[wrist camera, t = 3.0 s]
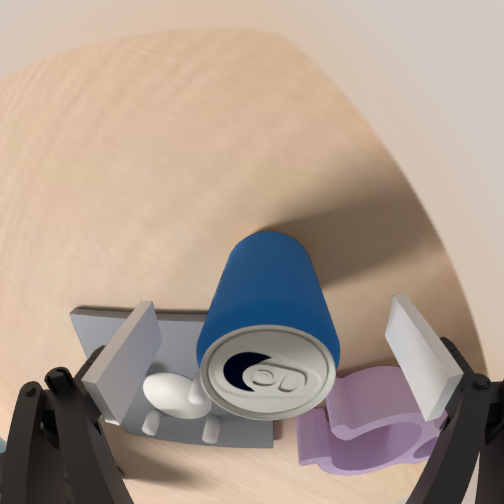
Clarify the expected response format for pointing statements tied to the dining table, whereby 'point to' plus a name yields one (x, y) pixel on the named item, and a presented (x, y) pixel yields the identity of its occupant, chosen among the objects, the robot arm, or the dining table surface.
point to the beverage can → (268, 332)
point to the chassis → (173, 386)
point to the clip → (367, 425)
